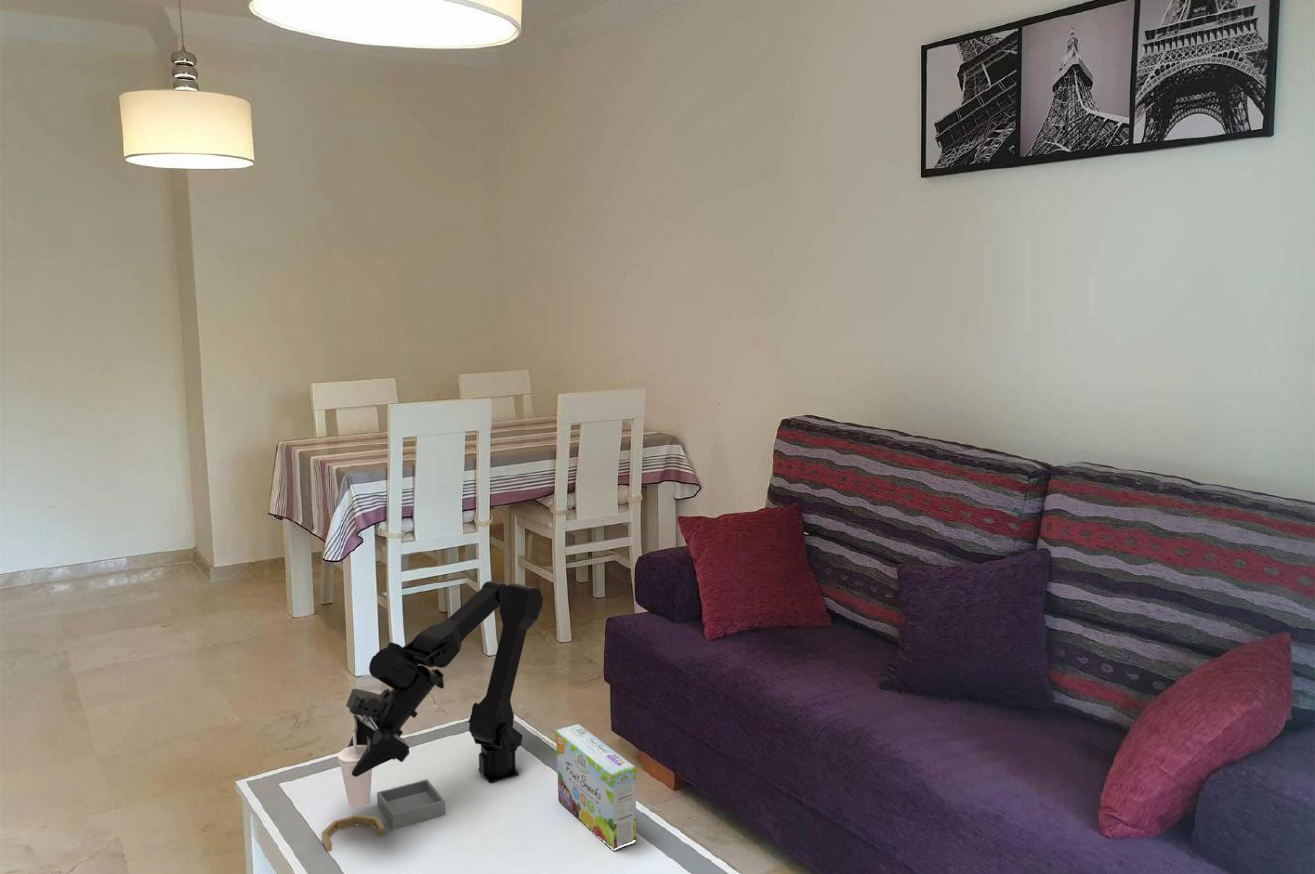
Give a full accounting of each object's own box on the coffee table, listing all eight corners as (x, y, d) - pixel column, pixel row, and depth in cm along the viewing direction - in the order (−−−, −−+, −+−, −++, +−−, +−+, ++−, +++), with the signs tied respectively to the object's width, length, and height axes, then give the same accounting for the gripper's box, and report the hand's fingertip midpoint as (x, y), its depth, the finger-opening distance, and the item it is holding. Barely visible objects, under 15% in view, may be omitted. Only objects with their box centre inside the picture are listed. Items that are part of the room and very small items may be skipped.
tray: (427, 792, 199) (427, 778, 199) (445, 814, 191) (445, 800, 190) (377, 805, 194) (376, 792, 193) (393, 829, 185) (392, 815, 185)
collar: (373, 817, 189) (373, 810, 189) (384, 834, 184) (384, 827, 183) (317, 832, 184) (317, 825, 184) (327, 851, 178) (327, 843, 178)
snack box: (555, 802, 195) (554, 728, 193) (580, 794, 199) (579, 721, 196) (612, 853, 178) (611, 773, 176) (638, 843, 181) (638, 764, 179)
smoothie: (338, 813, 179) (333, 739, 177) (343, 795, 185) (338, 723, 183) (375, 809, 180) (371, 736, 178) (379, 791, 186) (374, 720, 184)
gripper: (360, 656, 189) (303, 725, 185) (386, 692, 173) (325, 768, 169) (404, 686, 194) (349, 754, 190) (434, 724, 178) (375, 798, 174)
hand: (349, 767), depth 181 cm, fingers closed on smoothie, 6 cm apart
